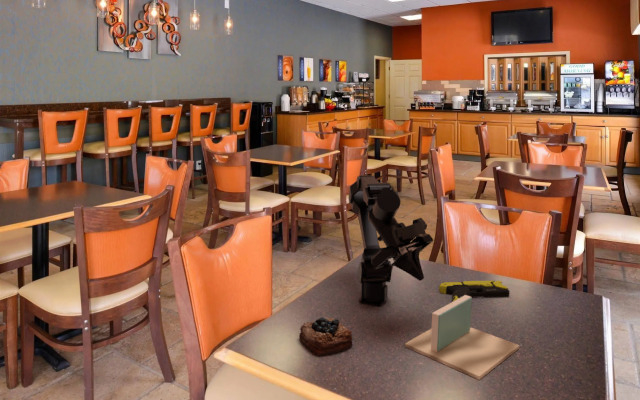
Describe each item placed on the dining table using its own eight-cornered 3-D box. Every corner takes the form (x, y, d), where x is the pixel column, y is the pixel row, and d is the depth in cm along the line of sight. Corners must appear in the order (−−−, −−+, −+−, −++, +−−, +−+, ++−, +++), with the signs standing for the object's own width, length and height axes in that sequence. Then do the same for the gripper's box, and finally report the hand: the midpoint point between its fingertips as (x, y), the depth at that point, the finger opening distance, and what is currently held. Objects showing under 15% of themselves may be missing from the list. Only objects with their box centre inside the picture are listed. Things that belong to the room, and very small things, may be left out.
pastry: (316, 360, 112) (316, 336, 111) (294, 337, 123) (293, 315, 121) (358, 348, 117) (358, 325, 116) (333, 327, 128) (333, 306, 126)
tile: (430, 349, 114) (432, 313, 112) (463, 328, 124) (465, 295, 122) (437, 352, 113) (439, 315, 111) (470, 331, 122) (472, 297, 120)
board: (405, 346, 117) (405, 343, 117) (447, 321, 129) (447, 318, 129) (479, 379, 104) (479, 376, 104) (519, 348, 116) (519, 345, 116)
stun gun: (521, 300, 136) (500, 279, 150) (451, 301, 135) (437, 280, 150) (521, 310, 137) (500, 288, 151) (451, 311, 136) (436, 289, 151)
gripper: (381, 216, 116) (419, 273, 110) (428, 202, 128) (464, 253, 123) (356, 241, 123) (390, 296, 117) (402, 226, 135) (436, 275, 130)
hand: (422, 279), depth 122 cm, fingers closed
